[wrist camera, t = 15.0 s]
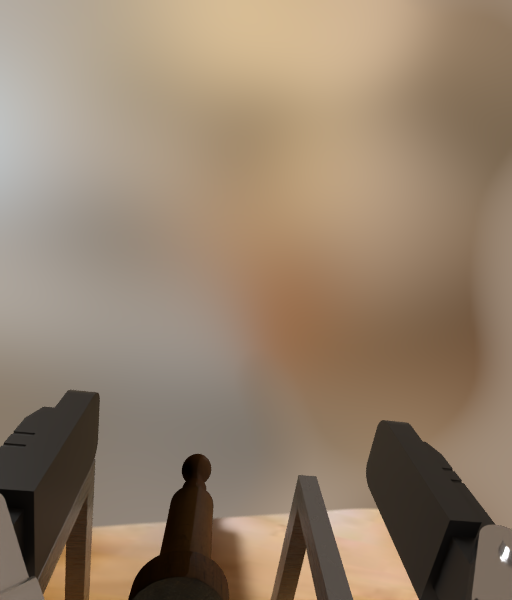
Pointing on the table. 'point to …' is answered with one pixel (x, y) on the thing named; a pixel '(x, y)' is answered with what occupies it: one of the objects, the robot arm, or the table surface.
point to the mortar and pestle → (185, 546)
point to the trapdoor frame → (299, 537)
